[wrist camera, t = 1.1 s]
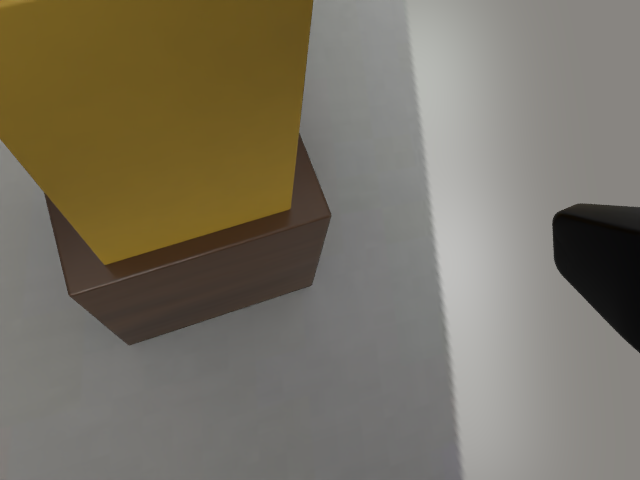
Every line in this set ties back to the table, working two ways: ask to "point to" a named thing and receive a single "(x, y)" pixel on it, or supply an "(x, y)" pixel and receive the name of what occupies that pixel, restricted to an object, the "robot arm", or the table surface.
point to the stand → (200, 267)
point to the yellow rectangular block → (155, 112)
